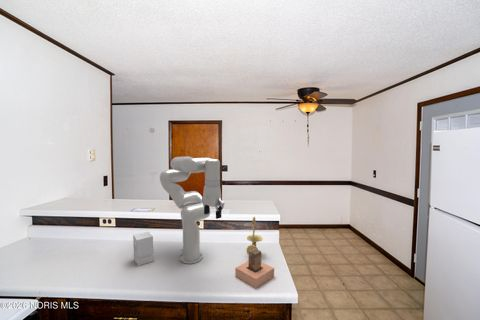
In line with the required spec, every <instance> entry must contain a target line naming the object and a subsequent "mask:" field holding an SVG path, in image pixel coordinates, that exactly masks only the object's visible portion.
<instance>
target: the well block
mask: <svg viewBox="0 0 480 320" xmlns="http://www.w3.org/2000/svg"><path fill="white" fill-rule="evenodd" d="M248 267H249V260H248V261H246V262H244V263H241V264H240V265H238V266H236V267H235V268H234V269H235V270H234V271H235V272H234V273H235V274H234V276H235V277H236V278H237V279H239V280H241V281H243V282H245V283H246V284H248V285H250V286H251V287H253V288H255V289H257V288H258V287H260V286H261V285H263V284H264V283H266V282H268V281H269V280H271V279H272V278H274V277H275V267H272V266H271V265H269V264H266V263H265V262H263V261H261V270H259V271H258V272H256V273H255V272H253V271H251V270H249V269H248Z"/></svg>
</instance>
